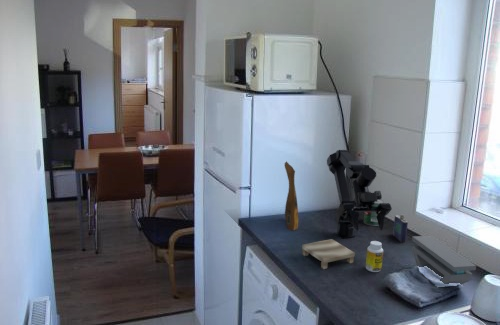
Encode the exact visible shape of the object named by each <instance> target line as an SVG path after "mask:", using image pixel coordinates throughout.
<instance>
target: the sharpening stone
mask: <svg viewBox="0 0 500 325" xmlns="http://www.w3.org/2000/svg"><path fill="white" fill-rule="evenodd" d="M411 241H412V242H413V243H415V244H416V245H413V247H412V255H413V258H414V261H415V264H416V267H417V266H419V267H424V266H427V267H428V268H430V269H431V270H433V271H434V272H435V273H436V274H438V275H439V276H441V277H443V278H441V279H440V281H442V282H443V283H444V284H449V283H460V284H461V285H460V286H463V285H464V284H466V283H469V282H470V281H472V280H473V279H472V278H473V273H472V272H471V271H476V269H477V265H476V264H474V263H473V262H471V261H470V260H469V259H467V258H466V257H464V256H462V255H461V254H460V253H458V252H457V251H455V250H454V249H452V248H451V247H449V246H448V245H447V244H445V243H443V242H442V241H440V239H437V238H436V237H434V236H433V235H421V236H419V235H417V236H412V238H411Z"/></svg>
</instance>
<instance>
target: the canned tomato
mask: <svg viewBox="0 0 500 325" xmlns="http://www.w3.org/2000/svg"><path fill="white" fill-rule="evenodd" d="M380 203H385V202H384V200H383V199H382V198H381V199H380V200H377V202H376V201H375V204H374V205H372V206H373V207H378V205H379V204H380ZM363 216H364V217H363V224H365V225H367V226H372V227H377V226H378V227H379V224H378V221H377V217H376V216H377V214H376V212H364V215H363Z"/></svg>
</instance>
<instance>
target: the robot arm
mask: <svg viewBox="0 0 500 325" xmlns="http://www.w3.org/2000/svg"><path fill="white" fill-rule="evenodd" d="M326 165H327V167H328V170H329V172H330V173H331V174H333V175H334V181H335V185H336V190H337V195H338V198H339V199H338V200H339V205H338V206H337V210H336V213H334V221H335V222H336V223H337V229H336V231H334V234H335V235H336V236H338V237H340V238H341V239H349V238H355V237H356V235H355V234H354V229H355V230H356V231H357V232H359V224H358V221H359V217H360V213H362V212H363V213H365V212H376V214H377V216H376V217H377V221H378V224H379V226H378V228H379V230H380V231H381V232H382V231H383V230H384V221H385V217H386V216H388V214H389V213H390V212H391V211H392V210H393V209H392V205H391V203H389V202H383V203H380V204H379V205H378V207H373V206H372V205H374V204H375V201H376V202H377V200H380V199H381V200H382V193H381V192H382V191H381V190H375V191H373V192H371V191H370V189H369V187H370V186H371V185H372V183H373V182H374V180H375V179H376V178H377V171H375V169H374V168H372V167H370V165H369V164H364V163H362V162H359V161H357V160H356V159H355V158H354V157H353V156H352V154H350V151H349V150H348V149H338V150H336V151H335V152H333V153H331V154H329V156H328V157H327V159H326ZM345 170H346V171H345ZM345 172H346V173H345ZM347 177H348V179H350V180H353V179H354V180H353V181H352V183H351V189H352V190H353V194H354V198H353V200H352V198H351V194H350V191H349V187H348V186H349V185H348V181H347Z"/></svg>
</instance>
